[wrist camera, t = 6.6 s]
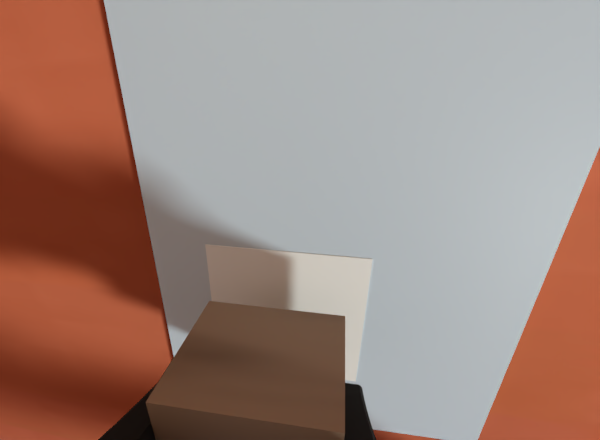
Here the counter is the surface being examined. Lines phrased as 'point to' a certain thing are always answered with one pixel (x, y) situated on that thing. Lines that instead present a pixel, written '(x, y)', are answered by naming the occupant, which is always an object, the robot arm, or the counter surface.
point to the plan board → (366, 174)
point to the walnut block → (254, 377)
